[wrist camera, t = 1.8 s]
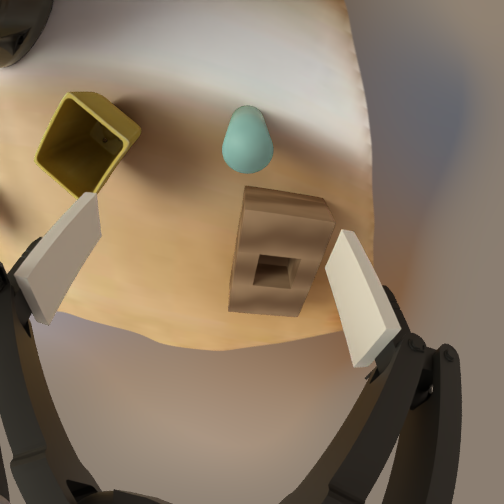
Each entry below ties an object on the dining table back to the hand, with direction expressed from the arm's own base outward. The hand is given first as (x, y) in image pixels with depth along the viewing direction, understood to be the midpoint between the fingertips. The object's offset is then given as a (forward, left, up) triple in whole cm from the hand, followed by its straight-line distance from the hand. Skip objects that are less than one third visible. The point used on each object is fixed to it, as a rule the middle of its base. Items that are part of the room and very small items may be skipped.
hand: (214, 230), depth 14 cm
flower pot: (0, -15, -20) cm, 24 cm away
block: (+14, +7, -19) cm, 25 cm away
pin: (-2, +1, -19) cm, 19 cm away
